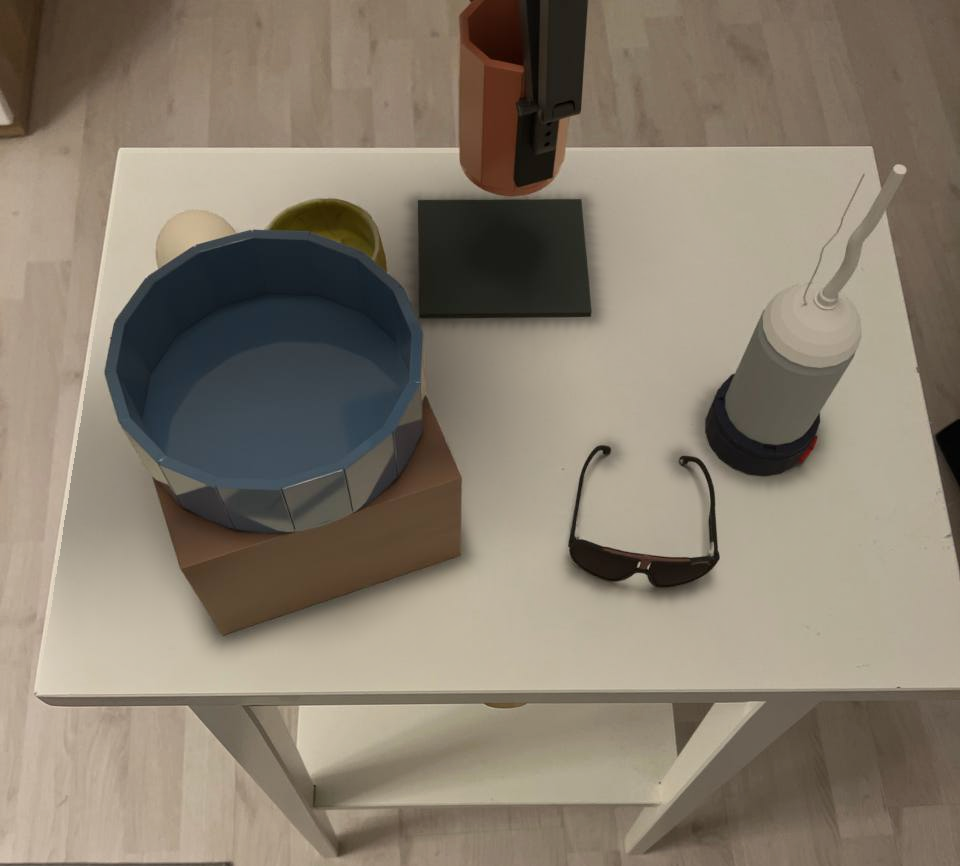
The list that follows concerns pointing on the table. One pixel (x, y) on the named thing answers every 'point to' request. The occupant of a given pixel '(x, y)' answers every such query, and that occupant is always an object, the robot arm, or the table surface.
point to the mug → (334, 224)
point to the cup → (494, 97)
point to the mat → (502, 258)
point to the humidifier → (792, 364)
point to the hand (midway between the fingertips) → (511, 137)
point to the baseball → (189, 233)
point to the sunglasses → (624, 564)
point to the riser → (324, 544)
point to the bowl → (270, 379)
